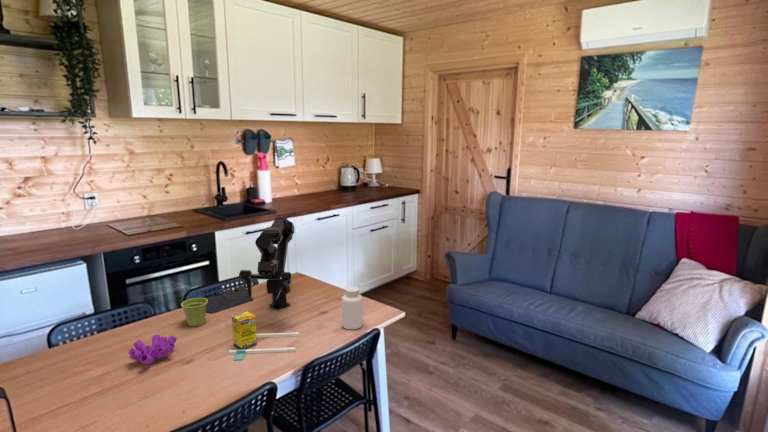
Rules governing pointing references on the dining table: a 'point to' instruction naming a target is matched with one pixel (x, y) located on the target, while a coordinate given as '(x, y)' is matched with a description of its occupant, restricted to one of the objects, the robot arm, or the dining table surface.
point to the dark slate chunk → (228, 300)
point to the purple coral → (152, 349)
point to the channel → (241, 352)
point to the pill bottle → (352, 308)
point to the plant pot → (195, 311)
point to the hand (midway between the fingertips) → (263, 299)
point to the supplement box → (244, 330)
